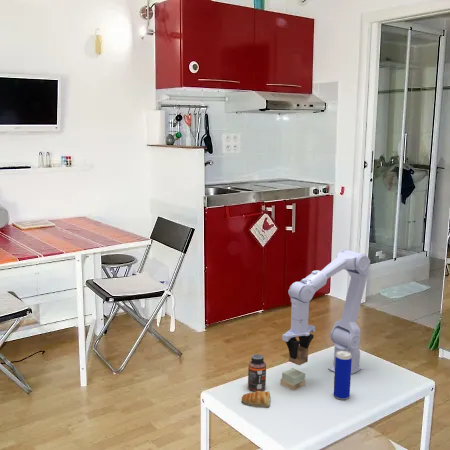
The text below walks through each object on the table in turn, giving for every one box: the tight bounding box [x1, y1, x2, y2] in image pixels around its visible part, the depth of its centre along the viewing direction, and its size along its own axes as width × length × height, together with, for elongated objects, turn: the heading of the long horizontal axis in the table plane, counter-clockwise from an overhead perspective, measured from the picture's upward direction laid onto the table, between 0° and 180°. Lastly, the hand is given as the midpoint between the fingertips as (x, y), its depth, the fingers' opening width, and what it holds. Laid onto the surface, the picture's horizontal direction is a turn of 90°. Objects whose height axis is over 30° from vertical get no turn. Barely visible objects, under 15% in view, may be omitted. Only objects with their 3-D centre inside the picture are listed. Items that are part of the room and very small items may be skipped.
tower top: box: [281, 367, 306, 385], centre depth 186 cm, size 6×6×2 cm
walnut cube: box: [288, 345, 309, 366], centre depth 184 cm, size 4×4×4 cm
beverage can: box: [333, 351, 352, 401], centre depth 178 cm, size 5×5×15 cm
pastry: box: [241, 390, 272, 408], centre depth 174 cm, size 9×7×4 cm
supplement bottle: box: [247, 353, 267, 392], centre depth 183 cm, size 6×6×11 cm
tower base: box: [279, 378, 306, 392], centre depth 186 cm, size 6×6×2 cm
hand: (298, 356), depth 185 cm, fingers closed on walnut cube, 4 cm apart
